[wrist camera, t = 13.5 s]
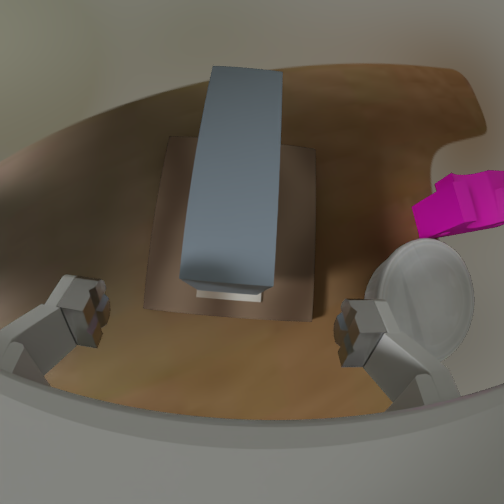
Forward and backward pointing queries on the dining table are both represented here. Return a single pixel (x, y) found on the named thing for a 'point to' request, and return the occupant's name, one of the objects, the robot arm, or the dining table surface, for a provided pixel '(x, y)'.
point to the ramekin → (427, 294)
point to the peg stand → (287, 243)
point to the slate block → (235, 184)
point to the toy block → (462, 205)
